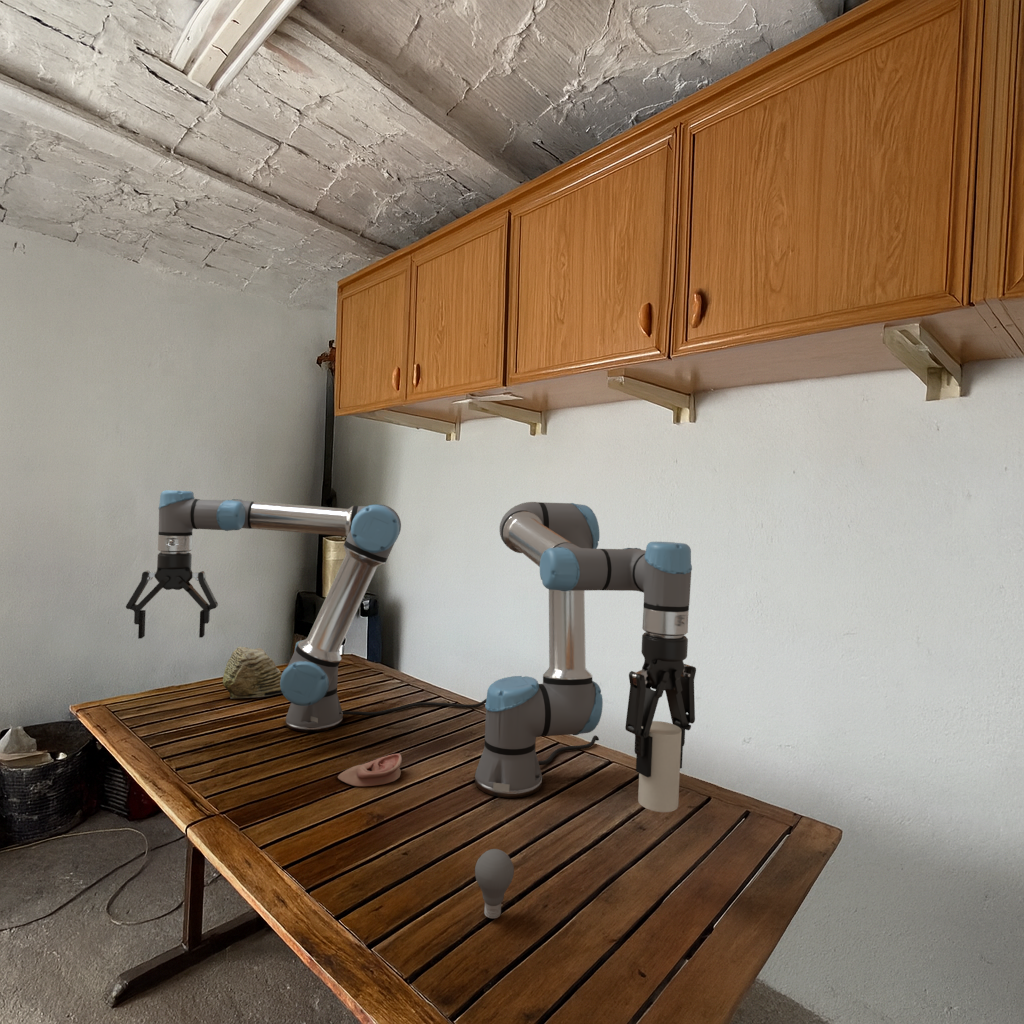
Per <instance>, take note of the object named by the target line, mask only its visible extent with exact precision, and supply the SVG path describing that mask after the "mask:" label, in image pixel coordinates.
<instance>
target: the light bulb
mask: <svg viewBox="0 0 1024 1024" xmlns="http://www.w3.org/2000/svg"><path fill="white" fill-rule="evenodd" d="M514 874H515V867H514V863H513V861H512V859H511V857H510V856H509V855H508V854H507V853H506V852H505V851H503V850H501V849H498V848H491V849H487V850H486V851H484V852H483V853H482V854H481V855H480V856H479V857H478V859H477V861H476V863H475V867H474V876H475V880H476V882H477V884H478V886H479V888H480V890H481V893H482V899H483V901H484V910H483V911H484V912H483V914H484V916H485V917H487V918H489V919H498V918H499V917H501V914H502V903H503V901H504V898H505V893H506V891H507V890H508V888H509V887H510V885H511V883H512V882H513V879H514V876H515V875H514Z"/></svg>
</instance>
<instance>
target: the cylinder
mask: <svg viewBox="0 0 1024 1024" xmlns="http://www.w3.org/2000/svg"><path fill="white" fill-rule="evenodd" d="M642 728H643V727H642ZM681 732H682V730H681V728H680V727H678V726H676V725H674V724H673V723H672V722H666V721H660V720H653V721H652V725H651V728H650V732H649V736H651V737H652V759H651V777H646V776H644V775H642V774H640V773H638V789H637V790H638V791H637V793H638V794H637V802H638V804H639V805H640V806H641V807H643V808H645V809H647V810H649V811H651V812H656V813H671V812H674V811H676V810H678V808H679V800H680V799H679V798H680V778H681V777H680V773H681V769H680V755H681Z"/></svg>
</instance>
